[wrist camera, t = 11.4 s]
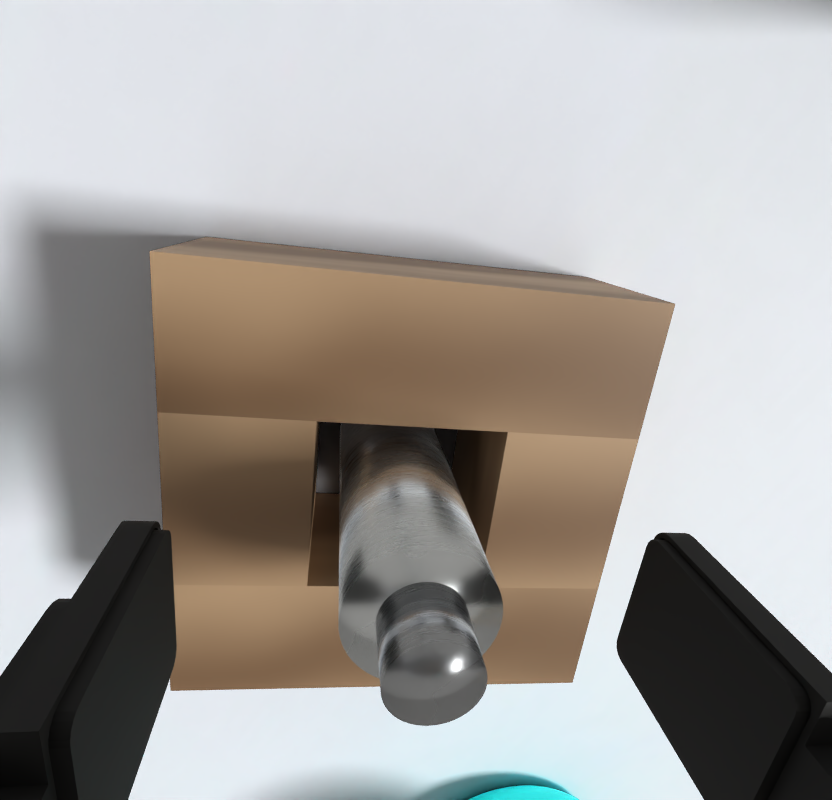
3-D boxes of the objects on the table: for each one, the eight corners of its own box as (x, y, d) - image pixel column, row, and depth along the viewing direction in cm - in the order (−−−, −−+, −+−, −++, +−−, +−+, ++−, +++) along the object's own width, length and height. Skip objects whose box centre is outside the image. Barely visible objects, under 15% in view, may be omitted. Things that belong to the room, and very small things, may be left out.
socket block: (206, 236, 16) (149, 251, 11) (588, 277, 18) (675, 303, 13) (211, 575, 20) (170, 690, 15) (523, 579, 22) (572, 682, 17)
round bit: (343, 387, 18) (345, 607, 8) (437, 393, 18) (544, 608, 9) (336, 472, 19) (331, 758, 9) (425, 476, 20) (510, 750, 10)
